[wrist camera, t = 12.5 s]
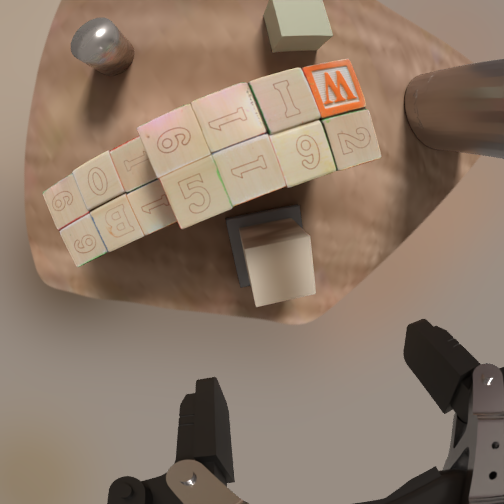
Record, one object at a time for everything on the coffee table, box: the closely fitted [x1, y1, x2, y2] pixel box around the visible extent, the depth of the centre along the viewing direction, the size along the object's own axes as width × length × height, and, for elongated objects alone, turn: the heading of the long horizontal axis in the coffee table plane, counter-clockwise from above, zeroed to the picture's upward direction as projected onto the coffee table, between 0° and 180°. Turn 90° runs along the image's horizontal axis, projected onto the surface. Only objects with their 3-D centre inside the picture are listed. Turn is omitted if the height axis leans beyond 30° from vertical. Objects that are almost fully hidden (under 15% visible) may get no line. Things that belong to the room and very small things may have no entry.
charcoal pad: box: [226, 204, 303, 288], centre depth 28 cm, size 7×7×1 cm
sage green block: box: [263, 0, 333, 52], centre depth 20 cm, size 4×4×4 cm
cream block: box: [239, 218, 316, 307], centre depth 25 cm, size 5×5×6 cm
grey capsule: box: [71, 18, 134, 76], centre depth 18 cm, size 4×4×6 cm
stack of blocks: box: [43, 59, 381, 267], centre depth 20 cm, size 21×6×12 cm, turn 110°
